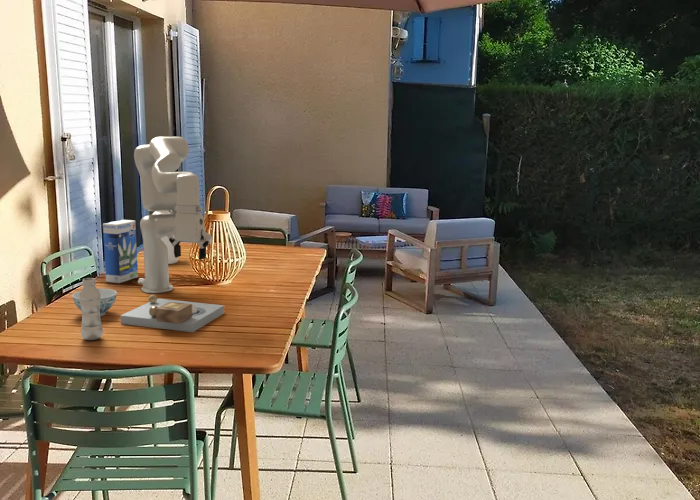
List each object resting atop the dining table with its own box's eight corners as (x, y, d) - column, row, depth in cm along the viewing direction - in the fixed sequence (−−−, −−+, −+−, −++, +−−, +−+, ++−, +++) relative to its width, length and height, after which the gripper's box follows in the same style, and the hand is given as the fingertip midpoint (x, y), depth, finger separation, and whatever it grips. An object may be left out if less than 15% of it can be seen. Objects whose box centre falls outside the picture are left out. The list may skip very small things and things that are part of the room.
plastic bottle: (84, 335, 211) (80, 276, 207) (106, 335, 211) (102, 276, 207) (78, 342, 205) (74, 281, 201) (100, 342, 205) (96, 281, 201)
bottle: (147, 260, 323) (145, 204, 317) (175, 258, 329) (173, 203, 323) (151, 266, 310) (149, 208, 305) (180, 263, 316) (178, 207, 311)
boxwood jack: (146, 303, 238) (146, 295, 237) (151, 301, 241) (151, 293, 240) (154, 304, 237) (154, 296, 236) (159, 302, 240) (158, 294, 239)
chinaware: (75, 322, 224) (74, 301, 223) (72, 311, 237) (70, 291, 236) (120, 317, 231) (119, 296, 229) (114, 306, 244) (113, 286, 242)
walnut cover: (156, 321, 217) (155, 307, 216) (170, 314, 225) (169, 301, 224) (179, 323, 215) (178, 310, 214) (192, 316, 223) (191, 303, 222)
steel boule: (176, 321, 228) (176, 305, 226) (185, 316, 233) (185, 300, 232) (192, 323, 226) (191, 307, 225) (200, 318, 232) (200, 302, 230)
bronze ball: (146, 317, 221) (146, 307, 220) (153, 314, 225) (152, 304, 224) (156, 319, 220) (156, 308, 219) (162, 315, 224) (162, 305, 223)
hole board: (120, 323, 224) (120, 315, 223) (157, 305, 246) (157, 298, 245) (192, 332, 216) (192, 323, 216) (224, 313, 238) (224, 305, 238)
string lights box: (119, 283, 277) (116, 224, 272) (105, 282, 279) (101, 223, 274) (138, 276, 289) (136, 220, 284) (124, 275, 291) (121, 219, 286)
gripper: (216, 209, 225) (217, 257, 228) (172, 207, 229) (173, 254, 233) (205, 212, 218) (206, 261, 221) (160, 209, 222) (162, 258, 226)
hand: (190, 257), depth 227 cm, fingers open, 9 cm apart
